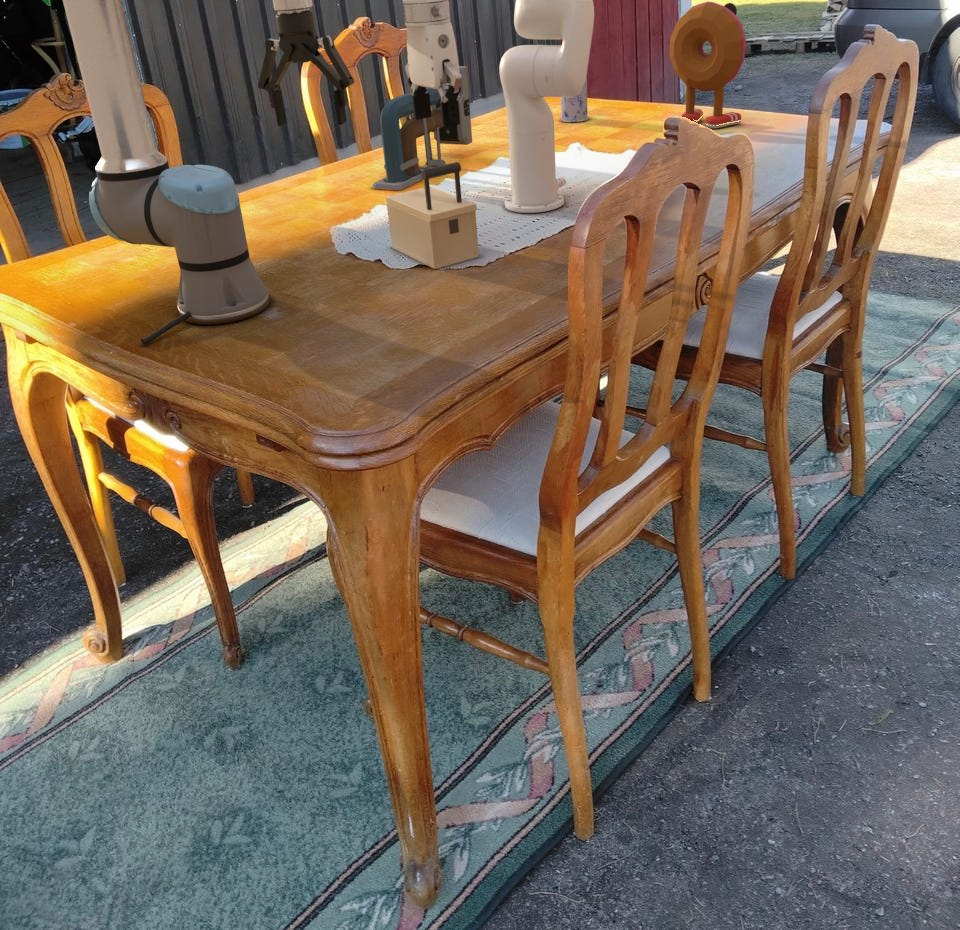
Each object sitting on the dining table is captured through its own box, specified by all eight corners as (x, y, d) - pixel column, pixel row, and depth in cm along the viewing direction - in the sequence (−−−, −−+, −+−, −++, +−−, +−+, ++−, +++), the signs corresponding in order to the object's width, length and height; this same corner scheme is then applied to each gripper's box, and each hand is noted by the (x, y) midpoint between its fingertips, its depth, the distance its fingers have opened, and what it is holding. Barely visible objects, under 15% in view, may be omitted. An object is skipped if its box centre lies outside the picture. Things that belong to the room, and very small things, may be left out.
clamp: (400, 190, 224) (389, 93, 213) (369, 188, 228) (356, 93, 217) (473, 154, 250) (466, 66, 239) (444, 152, 254) (436, 66, 243)
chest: (479, 256, 180) (475, 210, 175) (434, 269, 176) (429, 221, 171) (434, 236, 192) (430, 192, 188) (392, 247, 188) (386, 203, 184)
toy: (751, 123, 256) (760, -2, 241) (731, 131, 250) (739, 4, 235) (683, 117, 270) (686, -2, 254) (662, 124, 263) (664, 3, 248)
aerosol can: (559, 122, 275) (557, 47, 265) (562, 117, 282) (559, 42, 272) (587, 121, 274) (585, 45, 263) (589, 115, 280) (587, 41, 270)
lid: (476, 210, 175) (473, 163, 171) (431, 221, 171) (426, 174, 167) (430, 192, 188) (425, 148, 184) (386, 202, 184) (380, 158, 180)
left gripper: (360, 4, 188) (375, 118, 198) (246, 11, 194) (266, 120, 205) (345, 10, 181) (361, 126, 192) (227, 16, 188) (249, 128, 199)
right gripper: (473, 13, 154) (481, 124, 163) (421, 8, 167) (431, 112, 175) (433, 19, 151) (443, 132, 159) (382, 14, 164) (394, 119, 172)
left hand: (312, 124), depth 199 cm, fingers open, 13 cm apart
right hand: (436, 121), depth 167 cm, fingers open, 9 cm apart
